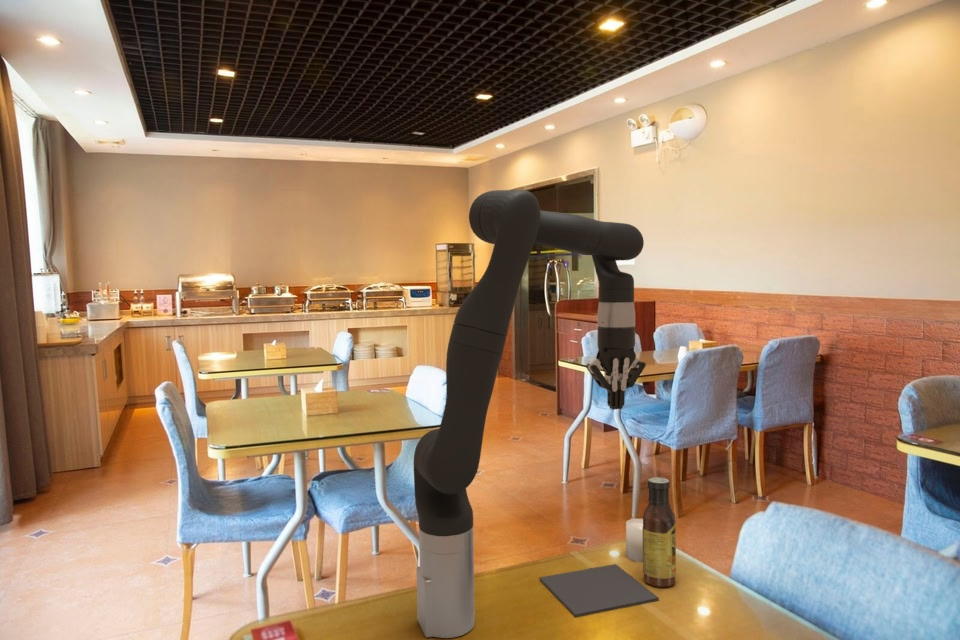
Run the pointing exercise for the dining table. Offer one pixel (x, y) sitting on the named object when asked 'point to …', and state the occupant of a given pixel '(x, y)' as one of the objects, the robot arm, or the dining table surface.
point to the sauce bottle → (659, 536)
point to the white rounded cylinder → (634, 540)
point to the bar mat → (597, 590)
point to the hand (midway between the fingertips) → (616, 408)
